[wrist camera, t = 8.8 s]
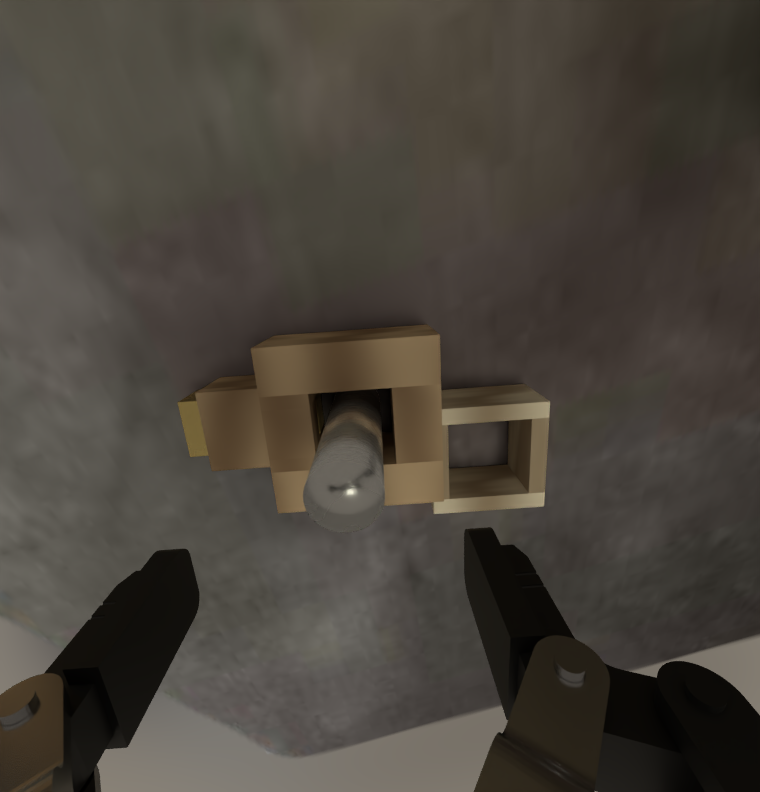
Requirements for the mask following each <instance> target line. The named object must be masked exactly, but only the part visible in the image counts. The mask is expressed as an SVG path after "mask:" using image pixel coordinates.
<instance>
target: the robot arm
mask: <svg viewBox="0 0 760 792" xmlns="http://www.w3.org/2000/svg"><path fill="white" fill-rule="evenodd" d="M464 575H465V584H466V590H467V595H468V598H469V601H470V605H471V608H472V611H473V614H474V617H475V621H476V624H477V627H478V630H479V633H480V637H481V640H482V643H483V646H484V649H485V652H486V656H487V659H488V662H489V665H490V668H491V672H492V675H493V678H494V681H495V684H496V687H497V691H498V694H499V697H500V700H501V703H502V707H503V710H504V713H505V716H506V719H507V720H508V723H507V725H506V728H505V730H504V732H503V733H500V732H499V733H498V734H497V735H496V736H495V738H494V740H493V742H492V745H491V747H490V750H489V752H488V755H487V758H486V760H485V763H484V766H483V768H482V771H481V774H480V776H479V779H478V782H477V784H476V787H475V790H474V792H594V791H598V792H760V715H759V714H758V713H757V712H756V711H755V709H754V708H753V707H752V706H751V704H750V703H749V702H748V701H747V700H746V699H745V697H744V696H743V695H742V694H741V693H740V692H739V691H738V690H737V689H736V688H735V687H734V686H733V685H731V684H730V683H729V682H728V681H726V680H725V679H724V678H722V677H721V676H719V675H718V674H716V673H714V672H712V671H711V670H709V669H707V668H704V667H702V666H699V665H696V664H693V663H689V662H684V661H673V662H669V663H666V664H664V665H663V666H662V667H661V668H660V669H659V671H658V675H657V678H655V677H651V676H646V675H642V674H637V673H633V672H629V671H624V670H621V669H617V668H614V667H611V666H609V665H607V664H605V663H604V662H603V661H602V660H601V658H600V657H599V656H598V655H597V654H596V653H595V652H594V651H593V650H592V649H591V648H589V647H588V646H587V645H585V644H584V643H582V642H580V641H578V640H576V639H575V638H574V636H573V635H572V633H571V631H570V629H569V628H568V626H567V624H566V623H565V621H564V619H563V617H562V616H561V614H560V612H559V610H558V609H557V607H556V605H555V603H554V602H553V600H552V598H551V597H550V595H549V593H548V591H547V590H546V588H545V587H544V586H543V583H542V581H541V579H540V577H539V576H538V575H537V574H536V570H535V569H534V567H533V565H532V564H531V562H530V560H529V558H528V557H527V556H526V555H525V554H524V553H523V552H521V551H520V550H519V549H518V548H516V547H515V546H514V545H500V543H499V541H498V539H497V537H496V535H495V533H494V531H493V529H492V528H491V527H488V528H475V529H465V533H464ZM198 606H199V589H198V585H197V581H196V577H195V573H194V569H193V565H192V561H191V557H190V553H189V551H188V550H187V549H173V550H160V551H156V552H155V553H154V554H153V555H152V557H151V558H150V559H149V560H148V562H147V563H146V564H145V565H144V567H143V568H142V569H141V571H135V572H134V573H133V574H131V575H130V576H129V577H127V578H126V579H125V580H123V581H122V582H121V583H120V584H118V585H117V586H116V587H115V588H114V590H113V591H112V592H111V593H110V594H109V596H108V597H107V598H106V599H105V600H104V602H103V605H100V606H99V608H98V609H97V610H96V611H95V613H94V614H93V615H92V618H91V620H88V621H87V622H86V623H85V625H84V626H83V627H82V628H81V629H80V631H79V632H78V633H77V634H76V635H75V637H74V638H73V639H72V640H71V641H70V643H69V644H68V645H67V646H66V648H65V649H64V650H63V651H62V652H61V654H60V655H59V656H58V657H57V659H56V660H55V661H54V662H53V663H52V665H51V666H50V667H49V668H48V669H47V670H46V672H45V673H44V674H41V675H36V676H33V677H30V678H28V679H26V680H24V681H21V682H20V683H18V684H16V685H14V686H12V687H11V688H9V689H8V690H6V691H5V692H4V693H2V694H1V695H0V792H101V785H100V774H99V769H98V767H97V763H98V761H99V760H100V758H101V756H102V754H103V752H104V750H105V749H113V748H126V747H128V745H129V744H130V742H131V740H132V737H133V736H134V734H135V732H136V730H137V728H138V726H139V724H140V722H141V720H142V718H143V716H144V715H145V713H146V711H147V709H148V707H149V705H150V703H151V701H152V699H153V697H154V695H155V693H156V691H157V689H158V688H159V686H160V684H161V682H162V680H163V678H164V676H165V674H166V672H167V670H168V668H169V666H170V664H171V662H172V660H173V659H174V657H175V655H176V653H177V651H178V649H179V647H180V645H181V643H182V641H183V639H184V637H185V635H186V633H187V631H188V630H189V628H190V626H191V624H192V622H193V620H194V618H195V616H196V613H197V610H198Z"/></svg>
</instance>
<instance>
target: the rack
mask: <svg viewBox="0 0 760 792" xmlns="http://www.w3.org/2000/svg"><path fill="white" fill-rule="evenodd" d="M441 400H442V439H443V478H444V501H443V502H431V504H432V508H433V512H434V514H442V513H456V512H470V511H484V510H498V509H512V508H527V507H541V506H544V496H545V479H546V463H547V446H548V429H549V412H550V401H549V400H547V399H546V398H544V397H543V396H541V395H540V394H538V393H537V392H535V391H534V390H532V389H531V388H530V387H528V386H527V385H525V384H517V385H503V386H489V387H475V388H462V389H448V390H441ZM495 421H509V431H508V464H507V465H493V466H479V467H465V468H451V469H449V456H448V425H454V424H467V423H481V422H495Z"/></svg>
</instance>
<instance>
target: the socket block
mask: <svg viewBox="0 0 760 792" xmlns="http://www.w3.org/2000/svg"><path fill="white" fill-rule="evenodd" d="M251 355H252V361H253V367H254V372H255V375H244V376H231V377H220V378H218V379H217V380H215V381H213V382H212V383H210V384H209V385H207V386H205V387H204V388H202V389H201V390H199V391H197V392H196V393H195V396H196V400H197V405H198V409H199V414H200V419H201V423H202V428H203V432H204V437H205V442H206V446H207V451H208V455H209V460H210V465H211V469H212V471H221V470H235V469H249V468H263V467H271V473H272V479H273V485H274V491H275V497H276V503H277V509H278V513H289V512H303V511H306V509H305V506H304V502H303V490H304V486H305V483H306V480H307V477H308V474H309V471H310V468H311V465H312V462H313V459H314V456H315V453H316V451H317V448H318V445H319V442H320V439H321V436H322V433H323V430H324V427H325V426H323V427H322V430H321V433H320V434H319V426H318V418H317V410H316V402H315V396H316V394H317V393H327V392H341V391H355V390H368V389H382V388H390V401H391V416H392V431H393V432H382V445H383V465H384V485H385V503H384V506H387V505H401V504H415V503H429V502H443V501H444V478H443V439H442V400H441V361H440V334H438V333H437V332H436V331H435V330H433V329H432V328H431V327H430V326H428V325H427V324H426V325H413V326H399V327H385V328H372V329H358V330H344V331H331V332H317V333H303V334H289V335H276V336H272V337H271V338H269V339H267V340H265V341H263V342H261V343H260V344H258V345H256V346H254V347H252V348H251Z"/></svg>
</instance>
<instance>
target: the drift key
mask: <svg viewBox="0 0 760 792" xmlns="http://www.w3.org/2000/svg"><path fill="white" fill-rule="evenodd" d="M197 391H199V390H197ZM197 391H195V392H193V393H192V394H190V395H189V396H187V397H185V398H184V399H182V400H181V401H179V402H178V406H179V411H180V415H181V419H182V424H183V428H184V432H185V437H186V441H187V445H188V449H189V454H190V457H195V456H209V455H208V451H207V446H206V442H205V437H204V432H203V428H202V423H201V419H200V414H199V409H198V405H197V400H196V396H195V393H196V392H197ZM315 402H316V410H317V418H318V426H319V434H320V433H321V430H322V427H323V424H324V417H323V409H322V400H321V393H317V394H316V396H315Z"/></svg>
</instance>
